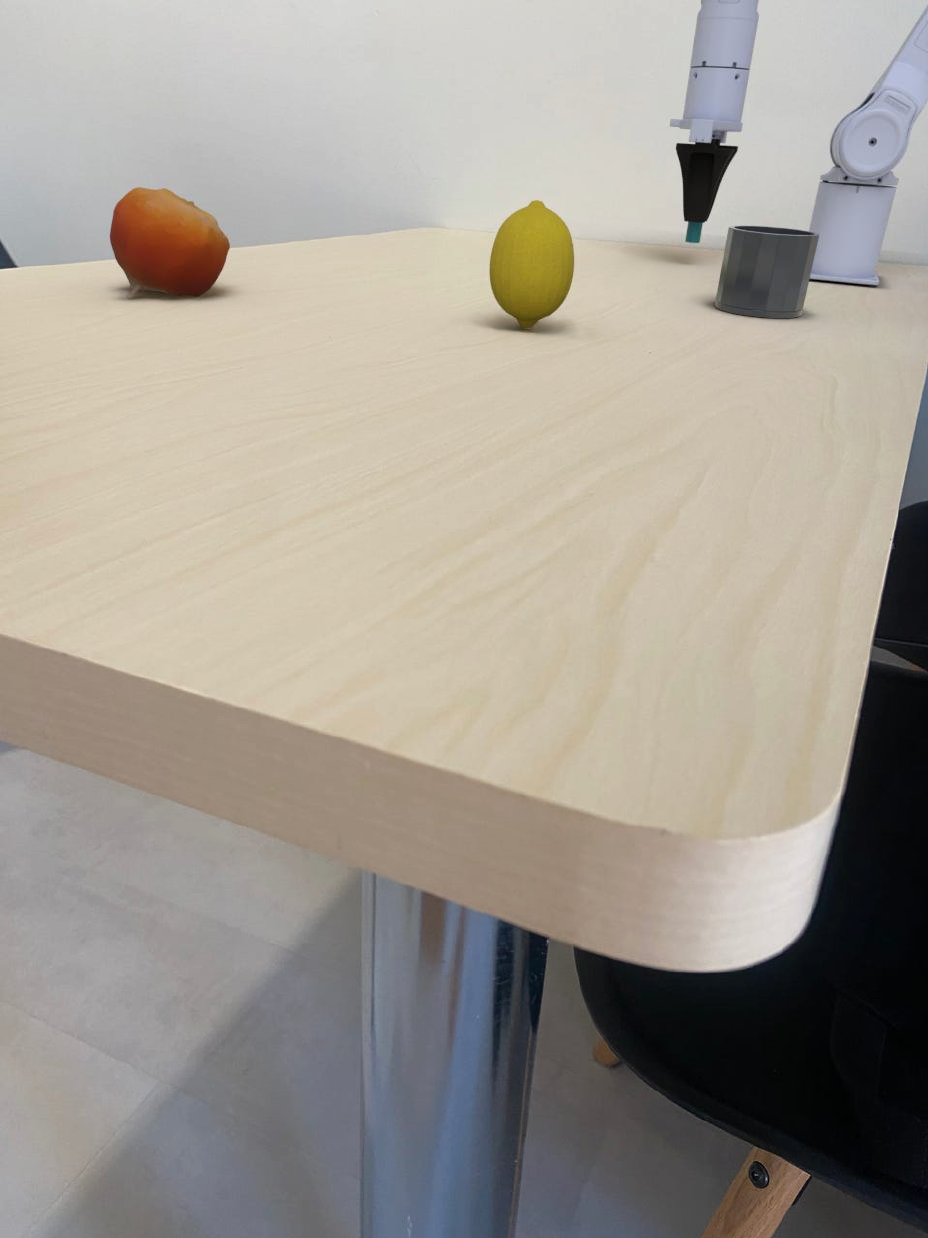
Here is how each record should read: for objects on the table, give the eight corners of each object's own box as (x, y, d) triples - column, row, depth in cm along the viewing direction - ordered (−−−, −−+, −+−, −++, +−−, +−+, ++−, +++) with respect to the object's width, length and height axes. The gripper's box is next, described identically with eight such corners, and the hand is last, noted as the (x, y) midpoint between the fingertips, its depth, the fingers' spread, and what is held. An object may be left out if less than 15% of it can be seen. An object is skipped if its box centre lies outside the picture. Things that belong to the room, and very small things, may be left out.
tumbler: (719, 299, 77) (733, 223, 74) (802, 308, 75) (820, 230, 73) (710, 311, 72) (725, 229, 69) (799, 321, 70) (818, 237, 67)
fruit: (80, 263, 66) (128, 161, 65) (181, 318, 71) (228, 224, 69) (91, 282, 60) (144, 169, 58) (201, 341, 65) (253, 238, 63)
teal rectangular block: (686, 240, 96) (698, 162, 93) (700, 241, 96) (713, 162, 92) (684, 242, 95) (696, 162, 92) (698, 243, 95) (711, 163, 91)
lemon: (562, 340, 59) (576, 205, 55) (479, 332, 60) (486, 199, 56) (571, 325, 64) (584, 200, 60) (493, 318, 64) (501, 194, 61)
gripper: (688, 72, 95) (668, 213, 102) (667, 62, 83) (645, 222, 90) (757, 75, 93) (732, 218, 100) (745, 65, 81) (717, 228, 88)
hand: (695, 221), depth 95 cm, fingers closed on teal rectangular block, 1 cm apart
